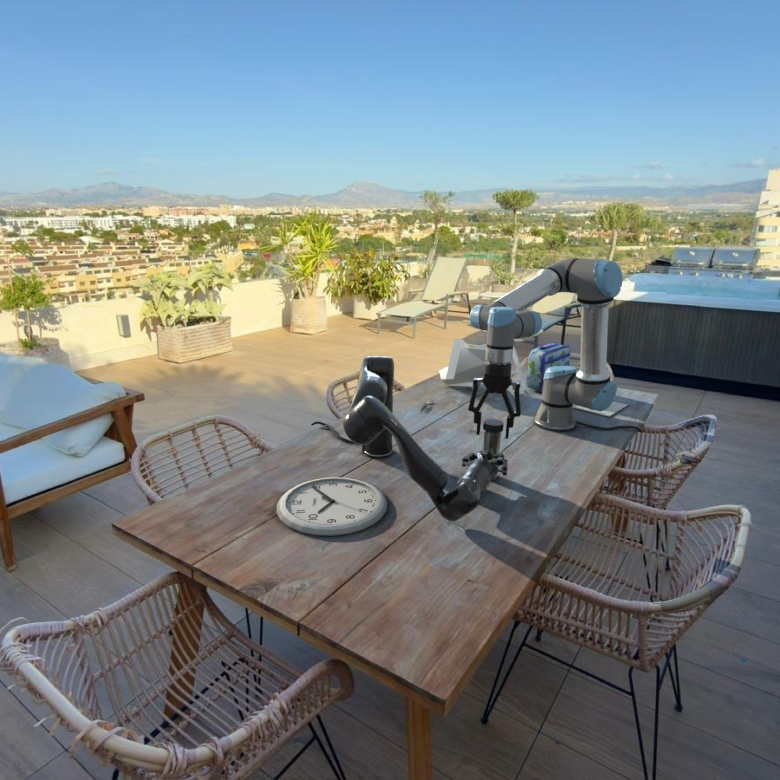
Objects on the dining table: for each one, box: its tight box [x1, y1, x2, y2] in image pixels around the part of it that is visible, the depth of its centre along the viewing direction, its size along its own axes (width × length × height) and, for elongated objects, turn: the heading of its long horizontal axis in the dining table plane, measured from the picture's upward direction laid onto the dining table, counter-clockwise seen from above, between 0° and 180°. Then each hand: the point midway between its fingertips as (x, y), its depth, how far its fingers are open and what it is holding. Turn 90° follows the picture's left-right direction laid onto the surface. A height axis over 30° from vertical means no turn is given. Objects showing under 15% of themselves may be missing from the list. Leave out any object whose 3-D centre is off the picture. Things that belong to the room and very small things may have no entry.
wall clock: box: [276, 476, 388, 537], centre depth 142 cm, size 30×2×30 cm
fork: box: [420, 396, 435, 411], centre depth 223 cm, size 3×16×2 cm, turn 160°
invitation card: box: [573, 400, 629, 418], centre depth 226 cm, size 21×1×15 cm
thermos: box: [482, 430, 502, 481], centre depth 158 cm, size 5×5×17 cm
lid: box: [482, 418, 504, 433], centre depth 156 cm, size 6×6×2 cm
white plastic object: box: [438, 338, 531, 398], centre depth 245 cm, size 37×45×31 cm
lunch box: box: [525, 343, 571, 393], centre depth 249 cm, size 26×11×21 cm, turn 134°
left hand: (492, 454), depth 161 cm, fingers closed on thermos, 5 cm apart
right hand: (492, 435), depth 157 cm, fingers open, 8 cm apart
